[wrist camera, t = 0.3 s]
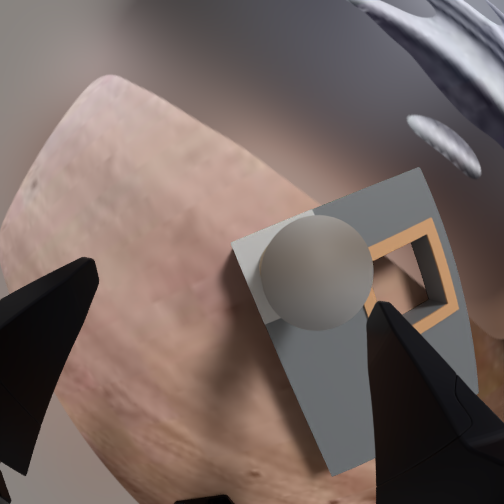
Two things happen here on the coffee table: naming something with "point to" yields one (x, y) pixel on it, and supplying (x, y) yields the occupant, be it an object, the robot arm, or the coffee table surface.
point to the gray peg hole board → (366, 315)
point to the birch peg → (316, 272)
